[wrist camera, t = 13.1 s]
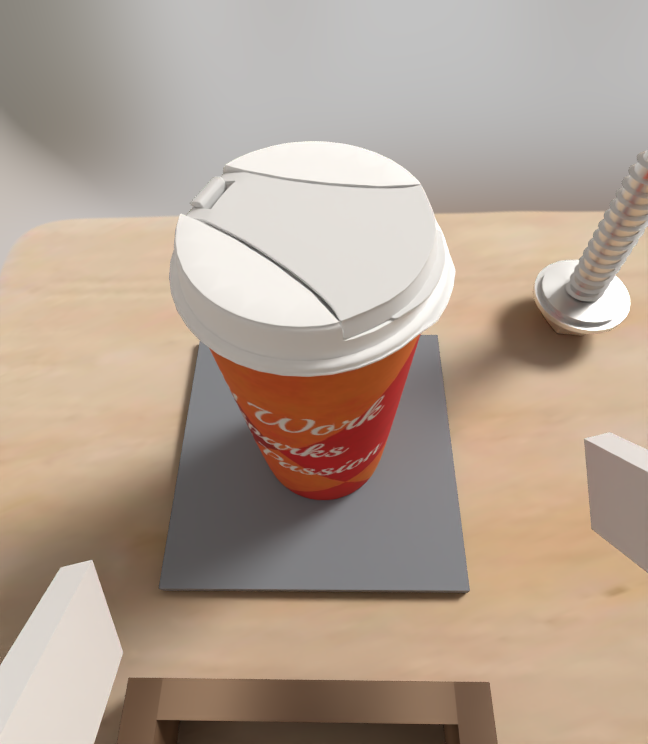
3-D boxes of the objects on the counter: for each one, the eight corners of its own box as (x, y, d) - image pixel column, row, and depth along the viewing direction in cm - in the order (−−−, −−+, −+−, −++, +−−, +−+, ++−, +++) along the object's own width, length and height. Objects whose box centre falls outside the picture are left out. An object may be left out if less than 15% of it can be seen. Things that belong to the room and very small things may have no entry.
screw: (618, 357, 28) (525, 348, 28) (606, 288, 30) (520, 281, 31) (800, 136, 17) (642, 127, 17) (756, 56, 19) (620, 51, 20)
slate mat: (435, 340, 29) (437, 335, 28) (467, 592, 22) (469, 590, 22) (202, 342, 29) (200, 337, 29) (162, 590, 22) (158, 588, 22)
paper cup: (213, 480, 24) (90, 276, 12) (291, 356, 28) (252, 105, 16) (367, 556, 22) (394, 398, 10) (429, 412, 26) (503, 172, 14)
